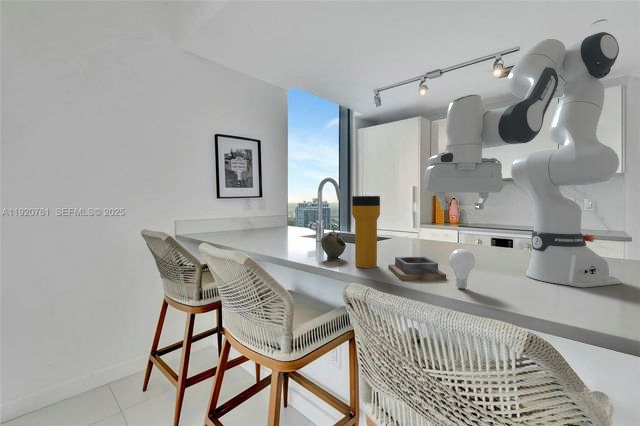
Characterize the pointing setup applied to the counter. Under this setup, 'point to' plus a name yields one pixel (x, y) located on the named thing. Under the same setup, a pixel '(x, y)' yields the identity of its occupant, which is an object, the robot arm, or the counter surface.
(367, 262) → the flashlight
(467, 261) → the lightbulb
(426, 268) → the socket base
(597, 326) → the counter surface
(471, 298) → the counter surface
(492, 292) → the counter surface
